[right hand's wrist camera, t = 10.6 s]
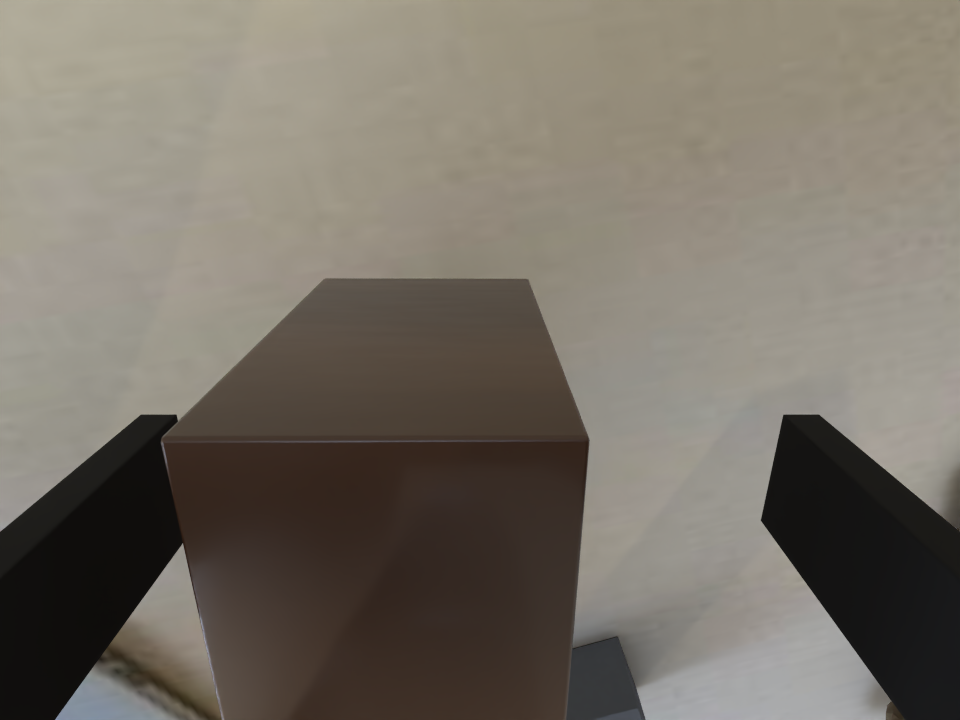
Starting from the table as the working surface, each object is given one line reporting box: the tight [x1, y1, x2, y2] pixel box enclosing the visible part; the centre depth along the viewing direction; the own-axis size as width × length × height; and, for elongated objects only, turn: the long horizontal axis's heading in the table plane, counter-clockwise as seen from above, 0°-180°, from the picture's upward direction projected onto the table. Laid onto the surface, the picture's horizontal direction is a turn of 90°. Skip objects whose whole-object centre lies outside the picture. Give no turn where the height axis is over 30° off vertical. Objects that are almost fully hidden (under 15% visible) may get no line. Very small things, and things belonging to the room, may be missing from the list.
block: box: [566, 637, 645, 720], centre depth 36 cm, size 5×5×5 cm
